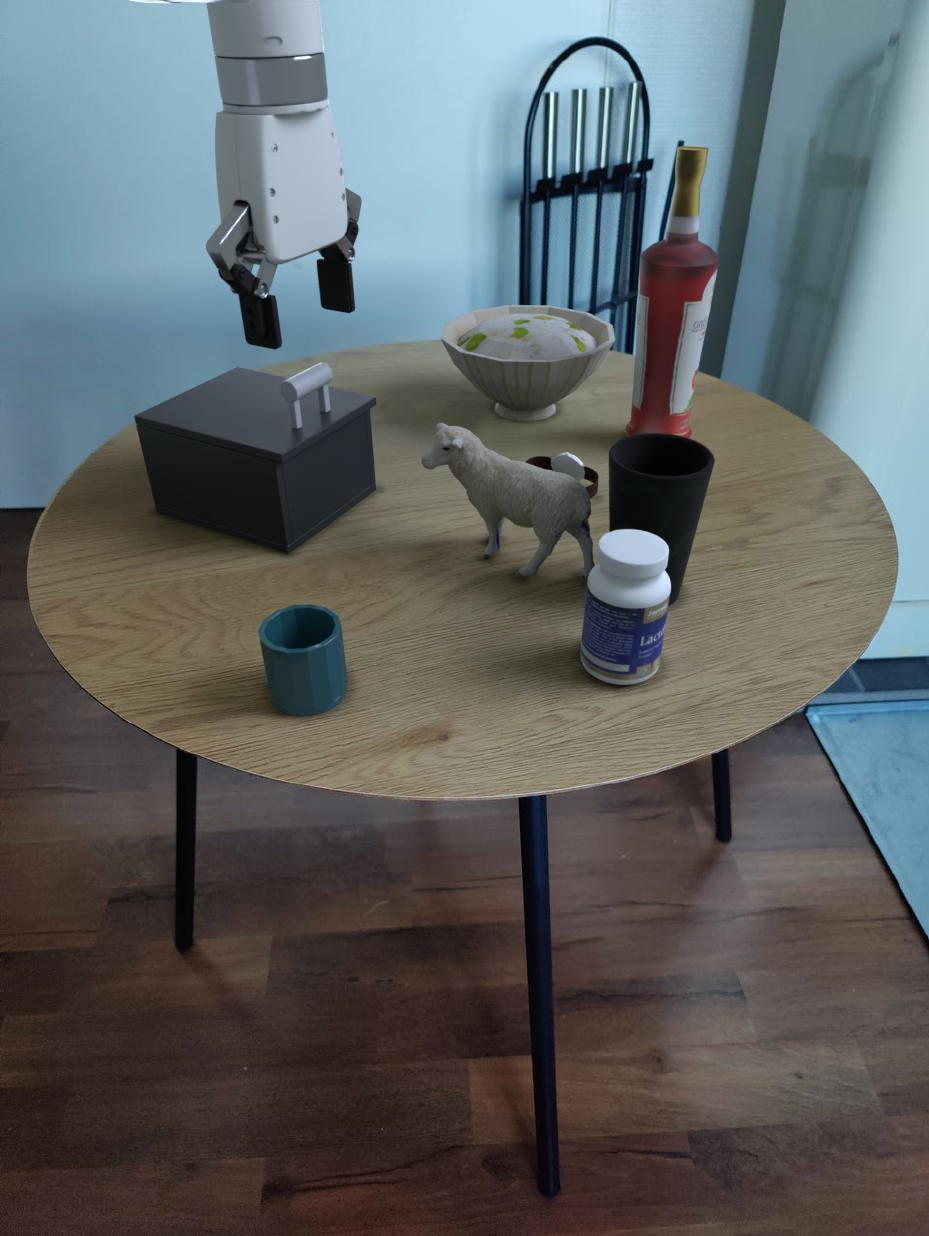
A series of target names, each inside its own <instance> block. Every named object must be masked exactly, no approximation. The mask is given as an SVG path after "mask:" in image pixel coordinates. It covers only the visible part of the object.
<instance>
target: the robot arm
mask: <svg viewBox="0 0 929 1236" xmlns="http://www.w3.org/2000/svg"><path fill="white" fill-rule="evenodd" d="M129 1H130V2H137V3H145V4H181V3H206V10H207V16H208V23H209V28H210V30H209V31H210V35H211V42H212V48H213V55H214V61H215V62H214V63H215V68H216V74H217V76H216V77H217V81H218V87H219V93H220V94H219V95H220V101H221V108H222V111H218V112H216V113H215V126H214V157H215V161H214V162H215V175H216V187H217V199H218V200H217V201H218V209H219V217H220V223H219V225H218V227H217V228H216V229H215V231H214V232H213V233H212V234H211V235H210V237H209V238H208V239H207V241H206V243H205V250H206V252H207V254H208V256H209V257H210V259H211V261H212V262H213V264H214V265H215V267H216V269H217V272H218V276H219V278H220V279H221V280H222V281H224V283H226V284H227V285H228V286H229V289H230V291H231V292H232V294H234V295H237V296H238V301H239V302H238V303H239V307H240V314H241V319H242V326H243V332H244V333H243V334H244V339H245V342H246V343H247V344H248V345H250V346H255V347H260V348H266V349H270V350H277V349H280V348H282V345H283V339H282V330H281V323H280V316H279V309H278V301H277V298H276V295H275V294H269V293H270V290H271V287H272V284H273V281H274V278H275V275H276V271H277V268H278V266H279V265H284V264H287V263H289V262H293V261H295V260H298V259H301V258H303V257H305V256H308V255H310V254H313V253H316V252H318V254H319V255H320V257H322V258H318V259H316V273H317V281H318V291H319V292H318V293H319V299H320V300H319V301H320V306H321V308H322V309H324V310H327V311H334V312H339V313H345V314H351V313H353V312H355V311H356V300H355V289H354V278H353V277H354V276H353V266H352V262H354V260H355V258H356V249H355V247H354V246H355V243H356V240H357V238H358V236H359V232H360V228H359V224H358V223H359V221H360V214H361V208H362V202H363V201H362V197H361V196H360V194H357V193H355V191H352V190H350V189H349V188H347V187H346V184H345V177H344V167H343V162H342V156H341V150H340V144H339V139H338V132H337V127H336V124H335V119H334V115H333V111H332V107H331V103H330V100H329V99H330V98H329V87H328V78H327V67H326V57H325V44H324V34H323V25H322V24H323V23H322V12H321V3H320V2H321V1H320V0H129ZM254 265H257V266H259V267H258V270H257V272H256V275H255V274H253V272H252V271H253V268H254Z"/></svg>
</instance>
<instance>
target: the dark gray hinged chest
mask: <svg viewBox="0 0 929 1236" xmlns="http://www.w3.org/2000/svg"><path fill="white" fill-rule="evenodd" d="M371 416H372V415H371V409H369V410H368V411H366V412H364V413H363V414H361V415H359V416H358V417H356V418H355V419H353V420H351V421H350V422H348V423H346V424H345V425H343V426H342V427H340V428H338V429H337V430H335V431H334V432H332V433H330V434H329V435H327V436H325V437H324V438H322V439H321V440H319V441H317V442H316V443H314V444H312V445H311V446H309V447H308V448H306V449H304V450H303V451H301V452H300V453H298V454H296V455H295V456H293V457H291V458H290V459H288V460H287V461H285V462H283V463H281V462H277V461H273V460H269V459H266V458H262V457H258V456H254V455H251V454H247V453H243V452H239V451H236V450H232V449H228V448H224V447H221V446H217V445H213V444H209V443H206V442H202V441H198V440H194V439H191V438H187V437H183V436H179V435H176V434H172V433H168V432H164V431H161V430H157V429H153V428H149V427H146V426H142V425H138V424H136V425H135V427H136V431H137V435H138V439H139V443H140V444H139V445H140V448H141V452H142V457H143V461H144V465H145V469H146V473H147V479H148V482H149V486H150V491H151V495H152V498H153V502H154V506H155V507H154V508H155V512H156V513H157V514H160V515H163V516H165V517H169V518H173V519H175V520H178V521H182V522H184V523H188V524H192V525H195V526H198V527H201V528H203V529H208V530H210V531H214V532H217V533H220V534H222V535H225V536H229V537H232V538H236V539H239V540H242V541H245V542H248V543H252V544H254V545H258V546H261V547H264V548H267V549H270V550H274V551H276V552H279V553H282V554H286V555H290V554H291V553H292V552H294V551H295V550H296V549H299V547H300V546H302V545H303V544H304V543H306V542H307V541H309V540H311V538H313V537H314V536H315V535H317V534H318V533H319V532H321V531H322V530H324V529H325V528H326V527H328V526H329V525H330V524H332V523H333V522H334V521H336V520H337V519H339V518H340V517H341V516H343V515H344V514H345V513H347V512H348V511H350V510H351V509H352V508H354V507H355V506H356V505H357V504H359V503H360V502H362V501H363V500H364V499H365V498H367V497H368V496H370V495H371V494H373V493H374V492H375V491H377V483H376V481H377V479H376V469H375V454H374V442H373V428H372V417H371Z"/></svg>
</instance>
